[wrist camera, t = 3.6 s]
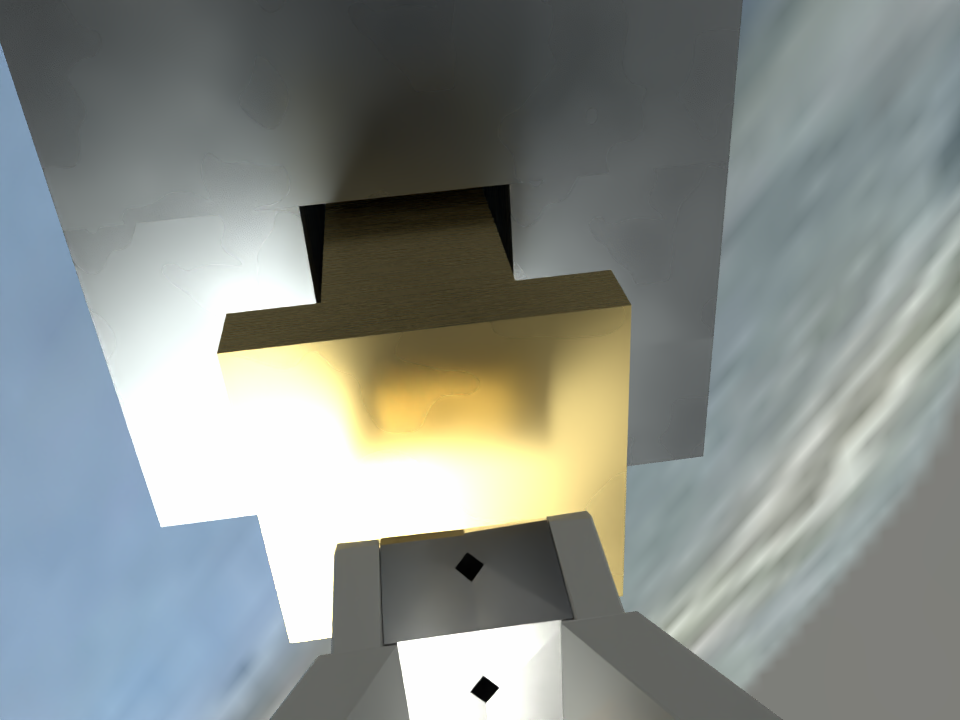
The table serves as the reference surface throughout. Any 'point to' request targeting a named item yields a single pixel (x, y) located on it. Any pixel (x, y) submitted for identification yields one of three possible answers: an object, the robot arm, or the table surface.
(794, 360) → the table surface
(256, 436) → the wooden tenon block
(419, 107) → the socket block
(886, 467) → the table surface
